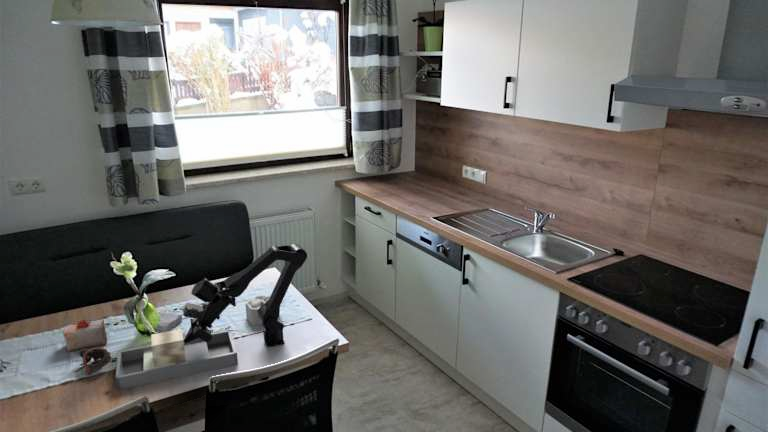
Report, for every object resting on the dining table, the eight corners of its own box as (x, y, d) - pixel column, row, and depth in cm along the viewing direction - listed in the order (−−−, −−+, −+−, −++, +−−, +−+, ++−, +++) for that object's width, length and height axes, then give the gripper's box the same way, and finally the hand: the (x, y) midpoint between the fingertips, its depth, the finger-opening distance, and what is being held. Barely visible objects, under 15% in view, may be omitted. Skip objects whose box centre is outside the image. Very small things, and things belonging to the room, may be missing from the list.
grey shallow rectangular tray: (231, 340, 195) (230, 329, 194) (237, 364, 181) (236, 352, 179) (120, 362, 181) (118, 351, 180) (117, 390, 166) (115, 378, 165)
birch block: (184, 348, 184) (182, 328, 182) (185, 360, 177) (183, 339, 175) (154, 354, 180) (151, 334, 178) (154, 366, 173) (151, 346, 171)
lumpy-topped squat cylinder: (244, 316, 213) (243, 297, 211) (274, 308, 220) (273, 290, 217) (252, 327, 205) (251, 307, 202) (283, 318, 212) (282, 299, 209)
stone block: (146, 336, 201) (168, 334, 199) (142, 325, 200) (164, 323, 198) (164, 322, 212) (185, 320, 210) (160, 312, 211) (182, 310, 209)
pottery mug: (120, 359, 183) (115, 348, 177) (103, 383, 177) (97, 372, 171) (90, 348, 184) (83, 337, 178) (71, 372, 178) (64, 361, 172)
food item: (64, 354, 186) (60, 330, 183) (67, 343, 193) (62, 320, 190) (107, 345, 191) (103, 322, 188) (108, 335, 198) (104, 312, 195)
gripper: (194, 285, 185) (164, 318, 184) (198, 308, 168) (165, 344, 167) (218, 301, 190) (189, 333, 189) (225, 324, 174) (193, 360, 173)
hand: (184, 342), depth 179 cm, fingers closed
